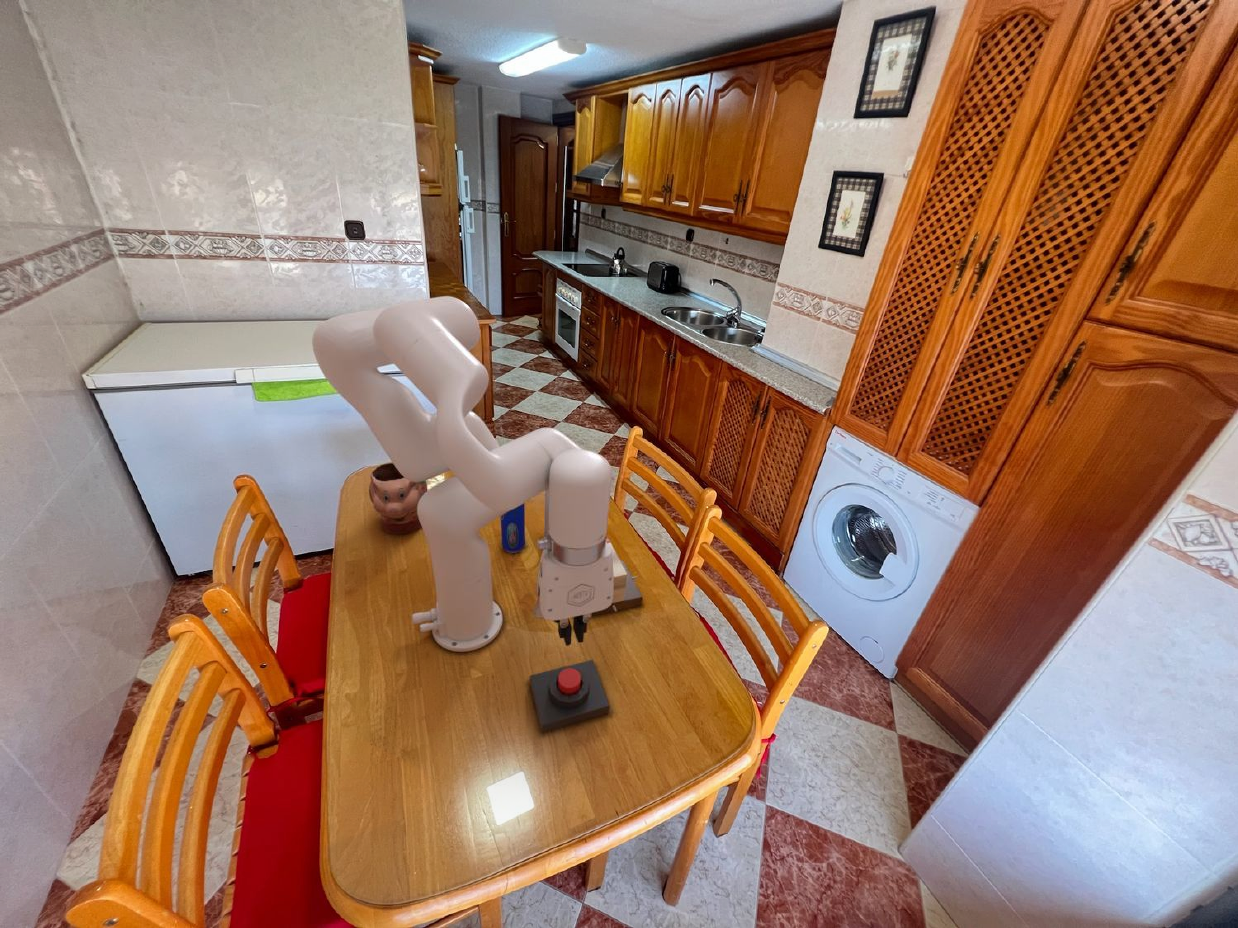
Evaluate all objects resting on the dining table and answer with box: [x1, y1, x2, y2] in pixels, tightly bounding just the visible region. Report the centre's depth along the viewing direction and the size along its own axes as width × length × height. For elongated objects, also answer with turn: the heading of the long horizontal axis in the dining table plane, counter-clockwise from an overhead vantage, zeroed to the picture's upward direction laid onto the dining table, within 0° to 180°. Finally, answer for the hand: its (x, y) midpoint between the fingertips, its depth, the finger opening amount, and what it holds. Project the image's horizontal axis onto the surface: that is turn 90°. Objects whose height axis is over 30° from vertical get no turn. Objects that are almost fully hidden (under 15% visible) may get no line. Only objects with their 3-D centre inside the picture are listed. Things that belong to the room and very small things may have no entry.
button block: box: [529, 659, 611, 734], centre depth 81 cm, size 11×9×4 cm
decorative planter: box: [368, 461, 428, 534], centre depth 114 cm, size 20×12×14 cm, turn 23°
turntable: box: [591, 560, 643, 618], centre depth 102 cm, size 15×15×3 cm
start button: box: [558, 668, 581, 695], centre depth 79 cm, size 4×4×2 cm
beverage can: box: [500, 503, 526, 554], centre depth 109 cm, size 5×5×15 cm
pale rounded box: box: [606, 537, 627, 603], centre depth 100 cm, size 11×5×7 cm, turn 20°
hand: (571, 636), depth 74 cm, fingers closed
